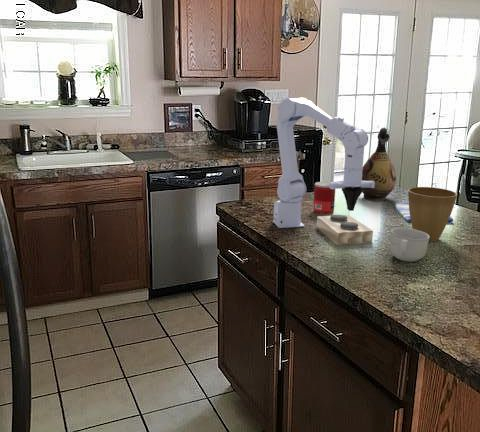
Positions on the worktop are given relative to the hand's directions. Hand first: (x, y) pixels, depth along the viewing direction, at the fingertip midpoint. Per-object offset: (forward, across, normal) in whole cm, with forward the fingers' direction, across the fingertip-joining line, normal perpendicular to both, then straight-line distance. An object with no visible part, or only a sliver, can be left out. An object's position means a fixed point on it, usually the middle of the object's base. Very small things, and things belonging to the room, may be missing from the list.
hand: (350, 209), depth 170 cm
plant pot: (+10, +26, -4) cm, 28 cm away
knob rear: (+9, 0, +9) cm, 13 cm away
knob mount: (+10, 0, +4) cm, 11 cm away
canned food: (+10, +4, +34) cm, 36 cm away
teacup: (+10, +9, -21) cm, 25 cm away
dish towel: (+11, +40, +23) cm, 47 cm away
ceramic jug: (+10, +34, +51) cm, 62 cm away
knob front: (+9, 0, 0) cm, 9 cm away
